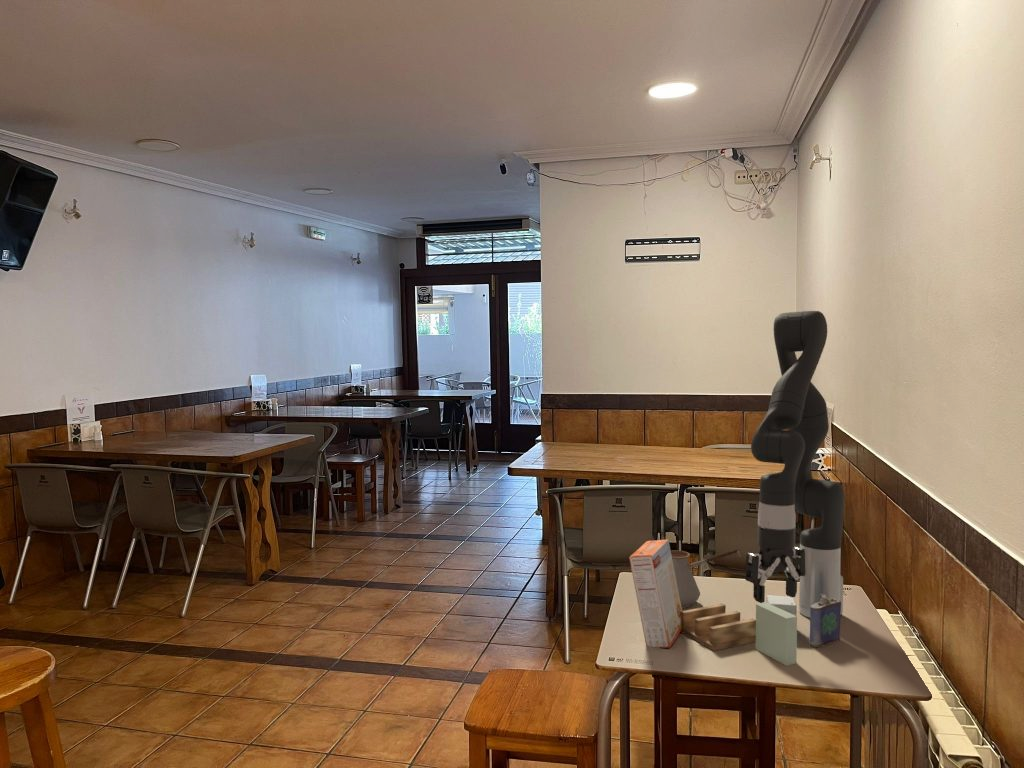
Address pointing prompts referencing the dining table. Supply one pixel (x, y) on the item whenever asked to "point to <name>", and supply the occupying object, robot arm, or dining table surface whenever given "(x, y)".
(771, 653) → the sage green tall prism
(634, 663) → the dining table surface
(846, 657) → the dining table surface
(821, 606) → the flask
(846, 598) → the dining table surface
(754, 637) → the rack
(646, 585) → the cracker box
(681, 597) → the coffee pot
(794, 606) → the product box
